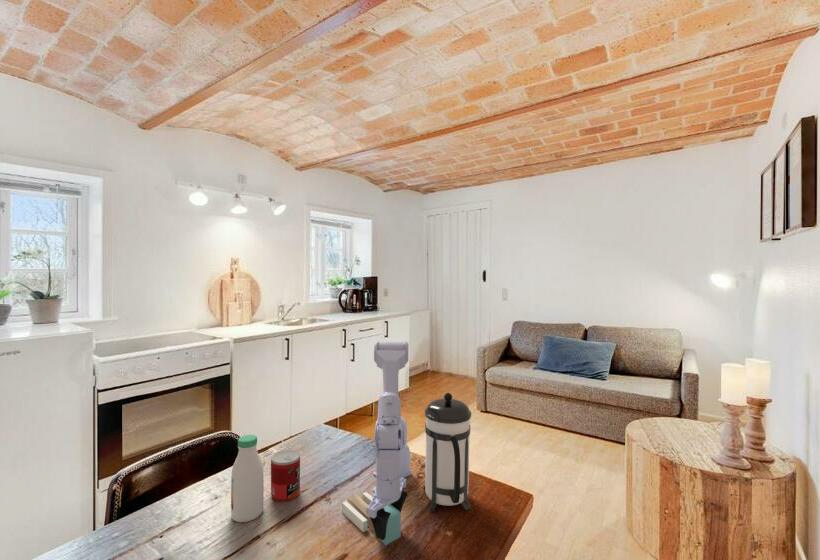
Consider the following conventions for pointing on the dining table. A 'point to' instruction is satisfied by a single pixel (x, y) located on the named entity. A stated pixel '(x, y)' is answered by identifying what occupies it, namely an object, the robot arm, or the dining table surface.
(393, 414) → the robot arm
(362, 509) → the rod
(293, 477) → the canned food
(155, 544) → the dining table surface
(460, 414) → the coffee press
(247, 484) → the milk bottle
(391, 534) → the block
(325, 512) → the dining table surface
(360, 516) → the channel
